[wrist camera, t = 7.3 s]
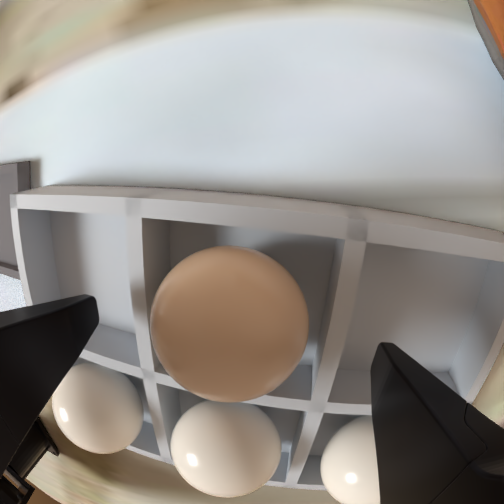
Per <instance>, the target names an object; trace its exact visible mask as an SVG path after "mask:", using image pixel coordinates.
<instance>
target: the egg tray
mask: <svg viewBox="0 0 504 504" xmlns="http://www.w3.org/2000/svg"><path fill="white" fill-rule="evenodd" d="M9 195H10V210H11V220H12V230H13V238H14V245H15V252H16V258H17V264H18V269H19V274H20V280H21V284H22V289H23V293H24V298H25V302H26V306H31V305H36V304H41V303H45V302H50V301H55V300H59V299H64V298H68V297H73V296H78V295H82V294H87V295H91V296H94V297H95V298H96V301H97V306H98V312H99V324H98V326H97V328H96V329H95V331H94V333H93V334H92V336H91V338H90V339H89V341H88V343H87V344H86V346H85V348H84V349H83V351H82V353H81V354H80V356H79V357H78V359H77V360H76V362H75V363H74V365H73V366H76V365H78V364H81V363H87V362H94V363H96V364H99V365H102V366H105V367H108V368H111V369H114V370H116V371H119V372H122V373H123V374H124V375H126V376H127V377H128V378H129V379H130V380H131V382H132V383H133V384H134V386H135V387H136V389H137V390H138V392H139V395H140V397H141V400H142V404H143V409H144V419H143V424H142V428H141V431H140V433H139V435H138V436H137V438H136V439H135V440H134V441H133V442H132V443H131V444H130V445H129V446H128V447H126V449H128V450H131V451H133V452H136V453H139V454H141V455H144V456H147V457H150V458H153V459H156V460H159V461H162V462H165V463H168V464H172V465H174V462H173V459H172V455H171V437H172V433H173V430H174V428H175V425H176V424H177V422H178V420H179V419H180V418H181V417H182V415H183V414H184V413H185V412H186V411H188V410H189V409H190V408H191V407H193V406H195V405H196V404H198V403H200V402H203V401H205V400H208V399H205V398H202V397H200V396H197V395H195V394H193V393H191V392H190V391H188V390H186V389H185V388H183V387H182V386H180V385H179V384H178V383H177V382H176V381H175V380H174V379H173V378H172V377H171V376H170V375H169V374H168V373H167V371H166V370H165V369H164V367H163V366H162V364H161V362H160V361H159V359H158V357H157V355H156V352H155V349H154V346H153V343H152V339H151V333H150V314H151V308H152V304H153V300H154V297H155V295H156V292H157V290H158V288H159V286H160V284H161V283H162V281H163V280H164V278H165V277H166V275H167V274H168V273H169V272H170V271H171V270H172V269H173V268H174V267H175V266H176V265H177V264H178V263H180V262H181V261H182V260H183V259H185V258H186V257H188V256H190V255H192V254H194V253H195V252H198V251H201V250H203V249H207V248H211V247H215V246H224V245H233V246H242V247H247V248H251V249H254V250H257V251H260V252H262V253H264V254H266V255H268V256H270V257H271V258H273V259H274V260H276V261H277V262H278V263H280V264H281V265H282V266H283V267H285V269H286V270H287V271H288V272H289V273H290V274H291V275H292V276H293V278H294V279H295V280H296V282H297V284H298V285H299V287H300V289H301V291H302V293H303V295H304V298H305V301H306V304H307V309H308V315H309V334H308V341H307V345H306V348H305V351H304V354H303V356H302V358H301V360H300V362H299V364H298V365H297V367H296V368H295V370H294V371H293V373H292V374H291V375H290V376H289V377H288V378H287V379H286V380H285V381H284V382H283V383H282V384H281V385H280V386H278V387H277V388H276V389H274V390H273V391H271V392H269V393H267V394H265V395H263V396H261V397H258V398H256V399H252V400H249V401H243V403H249V404H253V405H255V406H257V407H258V408H260V409H261V410H262V411H264V412H265V413H266V414H267V415H268V416H269V418H270V419H271V420H272V421H273V423H274V424H275V426H276V428H277V430H278V433H279V436H280V439H281V447H282V450H281V458H280V462H279V465H278V467H277V469H276V471H275V473H274V474H273V476H272V477H271V478H270V480H269V481H268V482H267V483H266V484H264V485H269V486H277V487H286V488H296V489H309V490H327V489H326V488H325V486H324V484H323V481H322V477H321V471H320V465H321V458H322V455H323V451H324V449H325V447H326V445H327V443H328V441H329V440H330V439H331V437H332V436H333V435H334V434H335V433H336V432H337V431H338V430H339V429H340V428H341V427H342V426H343V425H345V424H346V423H348V422H349V421H351V420H353V419H355V418H357V417H360V416H363V415H372V412H371V376H370V370H371V364H372V361H373V358H374V355H375V352H376V349H377V346H378V344H379V343H380V342H391V343H394V344H395V345H396V346H398V347H399V348H400V349H401V350H403V351H404V352H405V353H407V354H408V355H409V356H410V357H412V358H413V359H414V360H416V361H417V362H418V363H419V364H421V365H422V366H423V367H424V368H426V369H427V370H428V371H429V372H431V373H432V374H433V375H435V376H436V377H437V378H438V379H440V380H441V381H442V382H443V383H445V384H446V385H447V386H448V387H450V388H451V389H452V390H453V391H455V392H456V393H457V394H458V395H460V396H461V397H462V398H463V399H465V400H466V401H467V403H470V404H472V403H473V401H474V399H475V398H476V396H477V394H478V393H479V391H480V389H481V387H482V385H483V384H484V382H485V380H486V378H487V376H488V374H489V372H490V371H491V369H492V367H493V365H494V363H495V361H496V359H497V356H498V354H499V352H500V350H501V348H502V346H503V344H504V233H502V232H500V231H495V230H491V229H486V228H481V227H476V226H472V225H467V224H462V223H456V222H451V221H446V220H441V219H435V218H430V217H424V216H418V215H412V214H406V213H400V212H394V211H387V210H381V209H374V208H367V207H360V206H353V205H346V204H338V203H330V202H322V201H314V200H305V199H296V198H287V197H278V196H268V195H257V194H246V193H234V192H221V191H208V190H193V189H175V188H155V187H130V186H77V185H60V186H44V187H39V188H35V189H30V190H26V191H22V192H17V193H13V194H9ZM73 366H72V367H73Z"/></svg>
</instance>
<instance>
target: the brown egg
mask: <svg viewBox="0 0 504 504" xmlns="http://www.w3.org/2000/svg"><path fill="white" fill-rule="evenodd" d="M150 333H151V339H152V343H153V346H154V349H155V352H156V355H157V357H158V359H159V361H160V362H161V364H162V366H163V367H164V369H165V370H166V371H167V373H168V374H169V375H170V376H171V377H172V378H173V379H174V380H175V381H176V382H177V383H178V384H179V385H180V386H182V387H183V388H185V389H186V390H188V391H190V392H191V393H193V394H195V395H197V396H200V397H202V398H205V399H208V400H212V401H217V402H226V403H235V402H243V401H249V400H252V399H256V398H258V397H261V396H263V395H265V394H267V393H269V392H271V391H273V390H274V389H276V388H277V387H278V386H280V385H281V384H282V383H283V382H284V381H285V380H286V379H287V378H288V377H289V376H290V375H291V374H292V373H293V371H294V370H295V368H296V367H297V365H298V364H299V362H300V360H301V358H302V356H303V354H304V351H305V348H306V345H307V341H308V334H309V315H308V309H307V304H306V301H305V298H304V295H303V293H302V291H301V289H300V287H299V285H298V284H297V282H296V280H295V279H294V278H293V276H292V275H291V274H290V273H289V272H288V271H287V270H286V269H285V267H283V266H282V265H281V264H280V263H278V262H277V261H276V260H274V259H273V258H271V257H270V256H268V255H266V254H264V253H262V252H260V251H257V250H254V249H251V248H247V247H242V246H233V245H224V246H215V247H211V248H207V249H203V250H201V251H198V252H195V253H194V254H192V255H190V256H188V257H186V258H185V259H183V260H182V261H181V262H180V263H178V264H177V265H176V266H175V267H174V268H173V269H172V270H171V271H170V272H169V273H168V274H167V275H166V277H165V278H164V280H163V281H162V283H161V284H160V286H159V288H158V290H157V292H156V295H155V297H154V300H153V304H152V308H151V314H150Z"/></svg>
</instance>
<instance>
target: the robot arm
mask: <svg viewBox="0 0 504 504" xmlns="http://www.w3.org/2000/svg"><path fill="white" fill-rule="evenodd" d="M98 324H99V312H98V306H97V301H96V298H95V297H94V296H91V295H87V294H82V295H78V296H73V297H68V298H64V299H59V300H55V301H50V302H45V303H41V304H36V305H31V306H27V307H22V308H17V309H13V310H8V311H3V312H0V504H27V502H28V500H29V499H30V497H31V495H32V493H33V492H34V490H35V488H33V487H32V486H31V485H29V484H28V483H27V482H26V481H25V480H24V479H25V478H26V477H27V476H28V474H29V473H30V472H31V471H32V469H33V468H34V467H35V465H36V464H37V463H38V462H39V460H40V459H41V458H42V457H43V455H44V454H45V453H46V452H47V451H49V452H51V453H52V454H54V455H56V456H58V455H59V454H60V453H59V452H58V450H57V448H56V447H55V445H54V444H53V442H52V440H51V439H50V437H49V435H48V434H47V432H46V430H45V428H44V427H43V425H42V423H41V421H40V420H39V418H38V415H39V414H40V412H41V411H42V409H43V408H44V406H45V405H46V403H47V402H48V400H49V399H50V397H51V396H52V394H53V393H54V392H55V390H56V389H57V387H58V386H59V384H60V383H61V381H62V380H63V379H64V377H65V376H66V374H67V373H68V372H69V370H70V369H71V367H72V366H73V365H74V363H75V362H76V360H77V359H78V357H79V356H80V354H81V353H82V351H83V349H84V348H85V346H86V344H87V343H88V341H89V339H90V338H91V336H92V334H93V333H94V331H95V329H96V328H97V326H98ZM370 376H371V412H372V423H373V430H374V438H375V447H376V457H377V467H378V478H379V491H380V504H504V429H503V428H502V427H500V426H499V425H497V424H496V423H495V422H493V421H492V420H490V419H489V418H488V417H486V416H485V415H484V414H482V413H481V412H480V411H478V410H477V409H476V408H475V407H473V406H472V405H471V404H470V403H467V401H466V400H465V399H463V398H462V397H461V396H460V395H458V394H457V393H456V392H455V391H453V390H452V389H451V388H450V387H448V386H447V385H446V384H445V383H443V382H442V381H441V380H440V379H438V378H437V377H436V376H435V375H433V374H432V373H431V372H429V371H428V370H427V369H426V368H424V367H423V366H422V365H421V364H419V363H418V362H417V361H416V360H414V359H413V358H412V357H410V356H409V355H408V354H407V353H405V352H404V351H403V350H401V349H400V348H399V347H398V346H396V345H395V344H394V343H391V342H380V343H379V344H378V346H377V349H376V352H375V355H374V358H373V361H372V364H371V370H370ZM3 473H5V474H6V475H8V477H9V478H10V479H11V480H13V482H15V483H16V484H17V485H18V486H19V488H18V489H17V488H16V487H15V486H14V485H13V484H12V483H11V482H10V481H8V480H7V479H6V478H5V477H4V476H3Z"/></svg>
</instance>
